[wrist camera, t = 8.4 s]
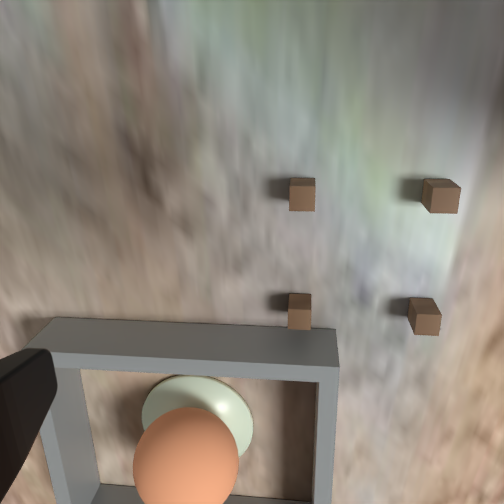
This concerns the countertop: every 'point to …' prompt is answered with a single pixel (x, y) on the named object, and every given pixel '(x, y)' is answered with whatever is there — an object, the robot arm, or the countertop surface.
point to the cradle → (420, 309)
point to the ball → (186, 459)
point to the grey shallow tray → (180, 390)
